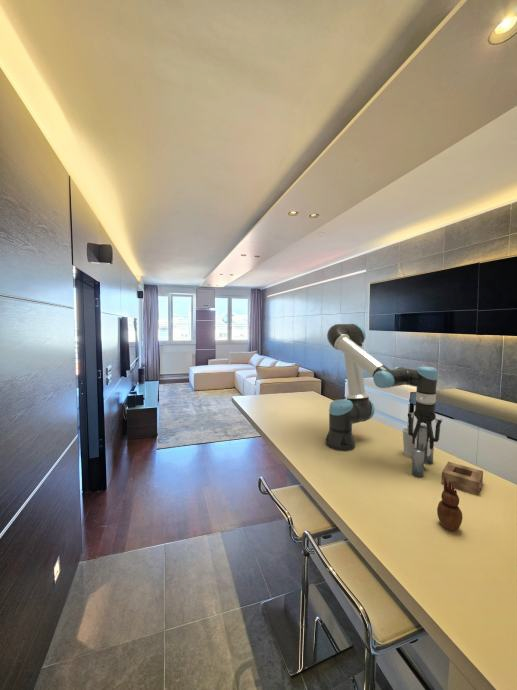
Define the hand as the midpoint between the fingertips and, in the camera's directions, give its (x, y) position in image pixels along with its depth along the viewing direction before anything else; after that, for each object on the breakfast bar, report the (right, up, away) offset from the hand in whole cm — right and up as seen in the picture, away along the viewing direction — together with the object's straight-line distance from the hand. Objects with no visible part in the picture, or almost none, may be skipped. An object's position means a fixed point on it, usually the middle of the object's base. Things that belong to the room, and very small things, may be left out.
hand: (422, 453), depth 131 cm
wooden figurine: (-12, -10, -37) cm, 41 cm away
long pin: (0, -4, 0) cm, 4 cm away
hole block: (+9, -8, -12) cm, 17 cm away
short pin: (+6, -6, +6) cm, 10 cm away
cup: (+2, -6, +14) cm, 15 cm away
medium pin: (-5, -7, -6) cm, 11 cm away
